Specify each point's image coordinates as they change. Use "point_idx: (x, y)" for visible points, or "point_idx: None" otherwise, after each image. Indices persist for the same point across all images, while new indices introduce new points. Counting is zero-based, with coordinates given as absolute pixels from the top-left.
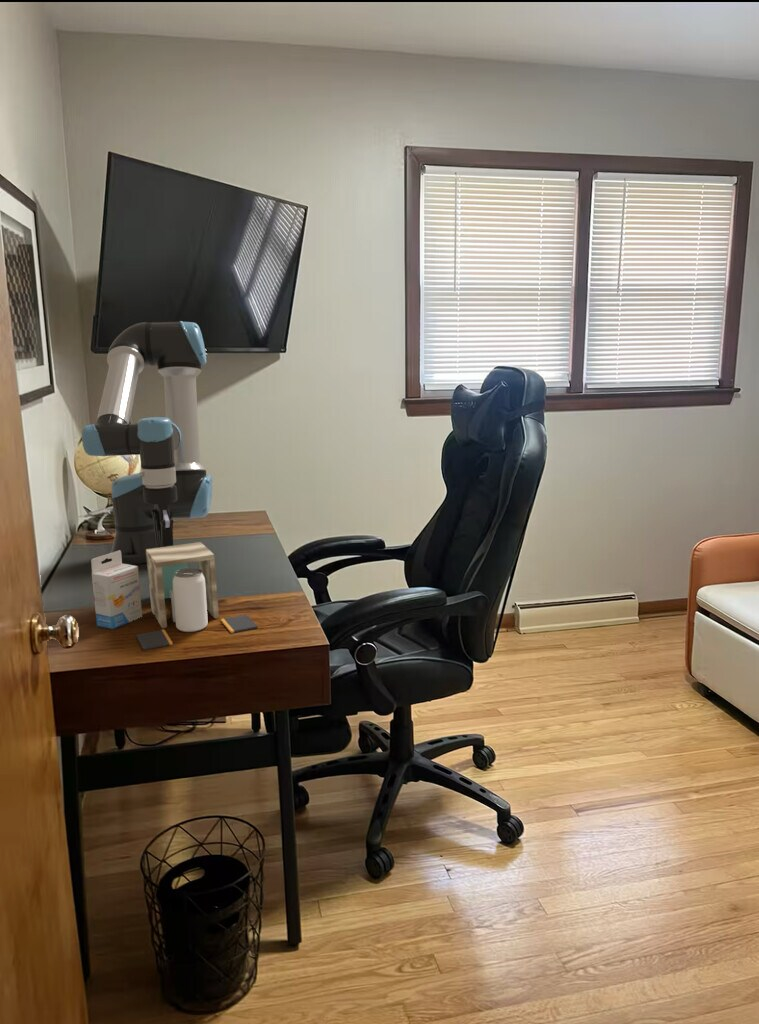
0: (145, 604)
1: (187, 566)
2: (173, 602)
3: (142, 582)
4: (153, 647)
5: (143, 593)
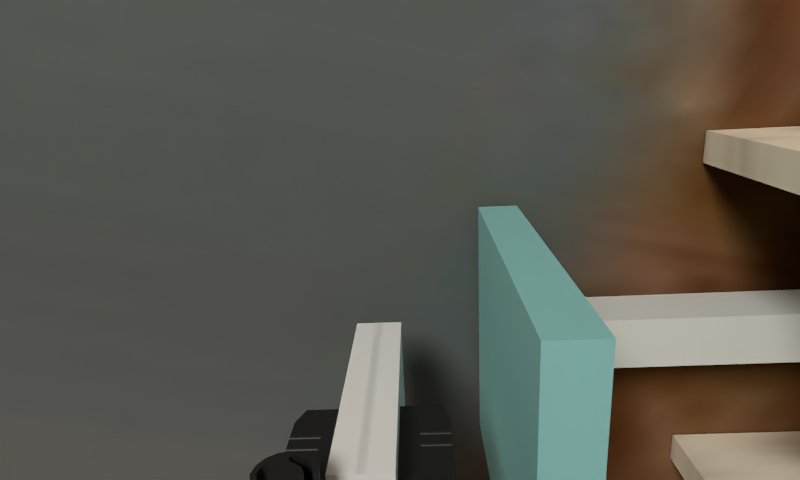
0: None
1: (575, 291)
2: None
3: (67, 432)
4: None
5: None
